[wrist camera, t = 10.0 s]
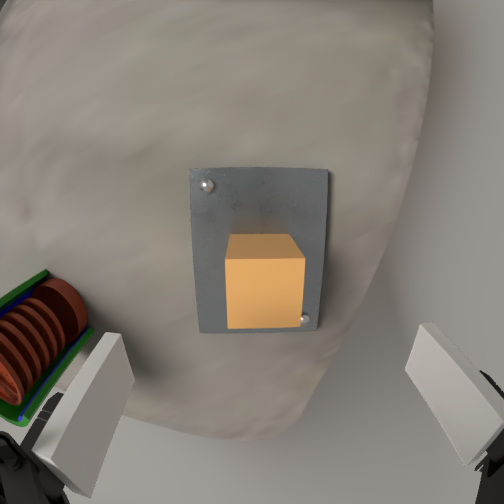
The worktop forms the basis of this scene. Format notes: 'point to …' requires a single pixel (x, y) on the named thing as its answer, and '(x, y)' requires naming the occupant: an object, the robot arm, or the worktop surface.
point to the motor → (37, 343)
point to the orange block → (264, 281)
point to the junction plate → (255, 231)
